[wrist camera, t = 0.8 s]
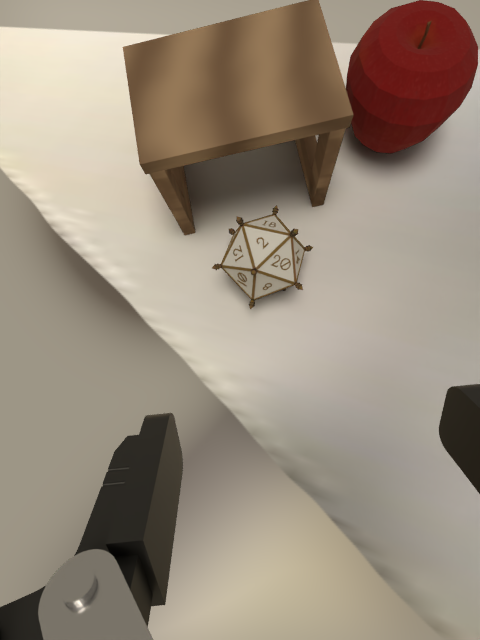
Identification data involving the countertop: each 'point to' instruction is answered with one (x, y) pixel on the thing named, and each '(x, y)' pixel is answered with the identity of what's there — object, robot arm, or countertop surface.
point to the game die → (263, 256)
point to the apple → (410, 74)
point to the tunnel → (238, 97)
